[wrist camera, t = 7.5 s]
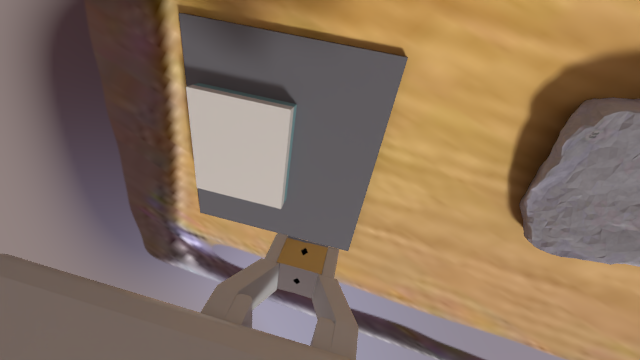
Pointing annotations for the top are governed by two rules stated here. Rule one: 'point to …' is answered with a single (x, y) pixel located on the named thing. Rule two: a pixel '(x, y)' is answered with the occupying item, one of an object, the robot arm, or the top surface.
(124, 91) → the top surface
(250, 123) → the tile
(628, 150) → the stone block
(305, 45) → the mat
